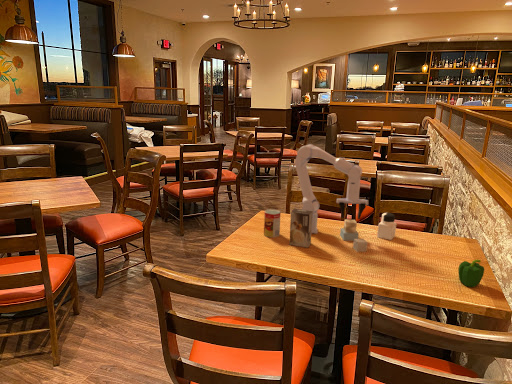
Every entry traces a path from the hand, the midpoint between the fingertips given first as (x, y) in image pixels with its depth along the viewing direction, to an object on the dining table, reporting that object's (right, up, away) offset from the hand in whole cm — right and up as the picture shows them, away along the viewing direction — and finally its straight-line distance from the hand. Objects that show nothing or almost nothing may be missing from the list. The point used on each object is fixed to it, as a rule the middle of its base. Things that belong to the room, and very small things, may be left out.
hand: (350, 217), depth 181 cm
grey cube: (+1, -14, -11) cm, 18 cm away
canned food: (-38, -9, +4) cm, 40 cm away
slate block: (0, -10, +3) cm, 11 cm away
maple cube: (0, -6, +2) cm, 7 cm away
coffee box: (-25, -12, -7) cm, 29 cm away
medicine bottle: (+19, -10, +6) cm, 22 cm away
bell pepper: (+34, -22, -41) cm, 58 cm away
